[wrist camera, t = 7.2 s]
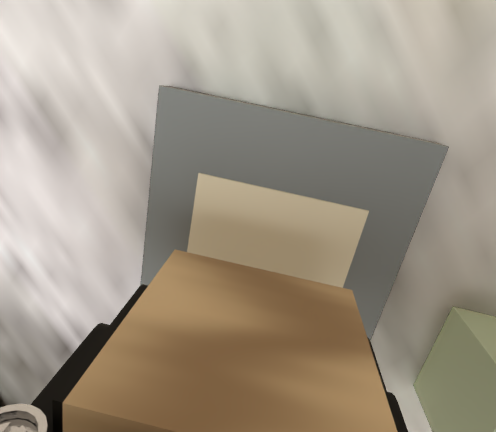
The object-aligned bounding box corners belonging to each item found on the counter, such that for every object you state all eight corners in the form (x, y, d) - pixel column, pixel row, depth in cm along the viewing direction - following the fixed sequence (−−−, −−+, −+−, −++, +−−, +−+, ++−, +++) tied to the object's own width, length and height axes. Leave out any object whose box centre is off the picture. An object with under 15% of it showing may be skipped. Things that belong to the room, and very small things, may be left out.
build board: (435, 142, 13) (450, 147, 12) (341, 384, 18) (345, 404, 17) (169, 86, 14) (157, 85, 13) (144, 334, 19) (133, 351, 17)
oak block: (352, 289, 9) (416, 491, 5) (306, 418, 11) (319, 659, 6) (175, 249, 9) (62, 403, 5) (157, 381, 11) (63, 589, 7)
